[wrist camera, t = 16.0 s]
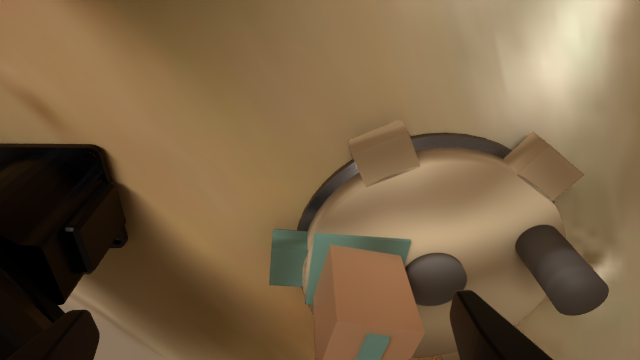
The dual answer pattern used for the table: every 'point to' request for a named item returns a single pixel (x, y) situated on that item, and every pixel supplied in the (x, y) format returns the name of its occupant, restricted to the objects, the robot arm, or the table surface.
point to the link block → (364, 307)
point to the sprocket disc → (451, 230)
